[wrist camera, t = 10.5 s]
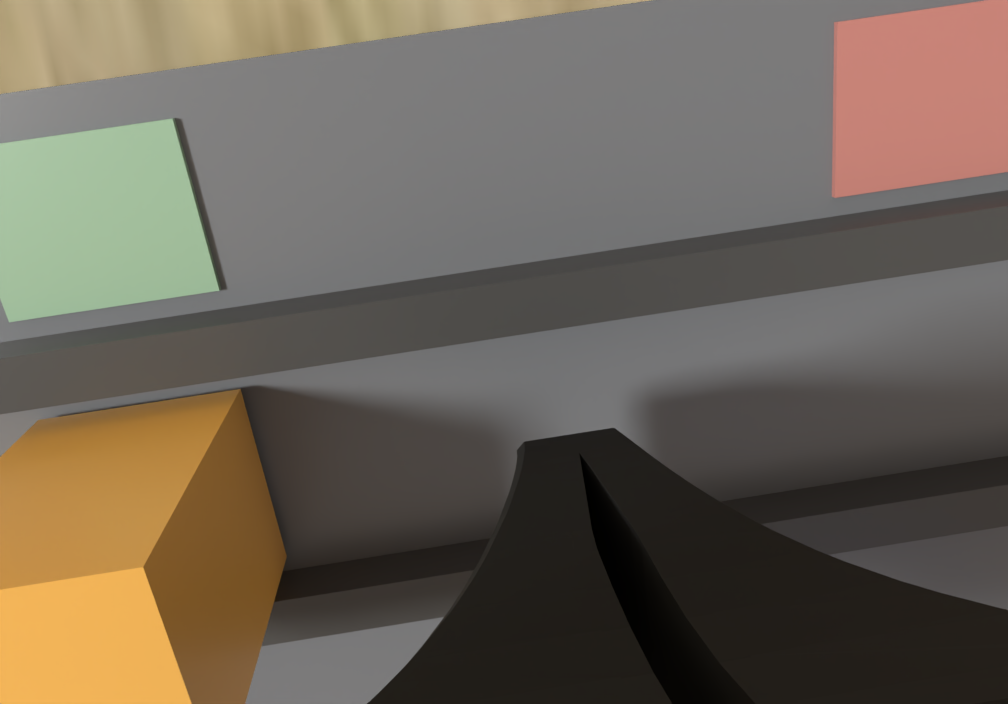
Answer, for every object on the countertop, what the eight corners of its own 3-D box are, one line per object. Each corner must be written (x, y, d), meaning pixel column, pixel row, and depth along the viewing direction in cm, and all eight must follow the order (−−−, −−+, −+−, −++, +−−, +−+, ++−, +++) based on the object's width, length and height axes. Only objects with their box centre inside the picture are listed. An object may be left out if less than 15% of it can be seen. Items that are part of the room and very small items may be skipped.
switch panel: (964, 543, 18) (1091, 665, 15) (155, 674, 18) (86, 831, 14) (1015, -52, 14) (1212, -81, 10) (-57, 102, 13) (-232, 127, 10)
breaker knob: (287, 556, 13) (221, 787, 9) (101, 586, 13) (-48, 832, 9) (240, 389, 12) (143, 567, 8) (38, 420, 12) (-164, 616, 8)
